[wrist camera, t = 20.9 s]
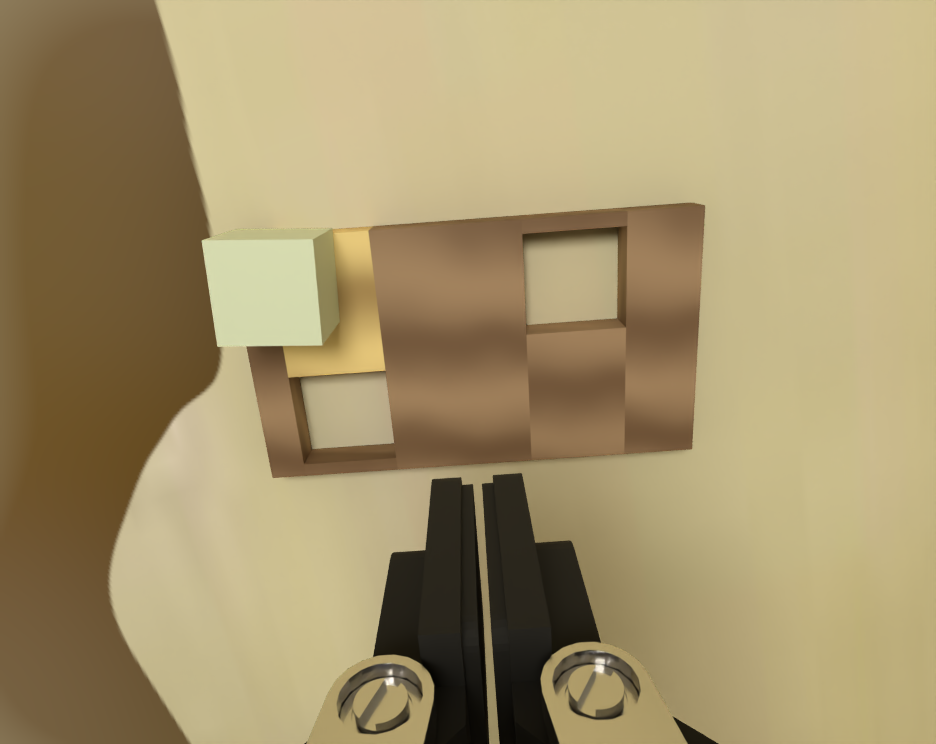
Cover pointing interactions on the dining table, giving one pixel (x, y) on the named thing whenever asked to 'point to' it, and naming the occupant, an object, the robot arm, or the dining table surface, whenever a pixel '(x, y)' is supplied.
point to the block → (272, 286)
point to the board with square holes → (498, 346)
